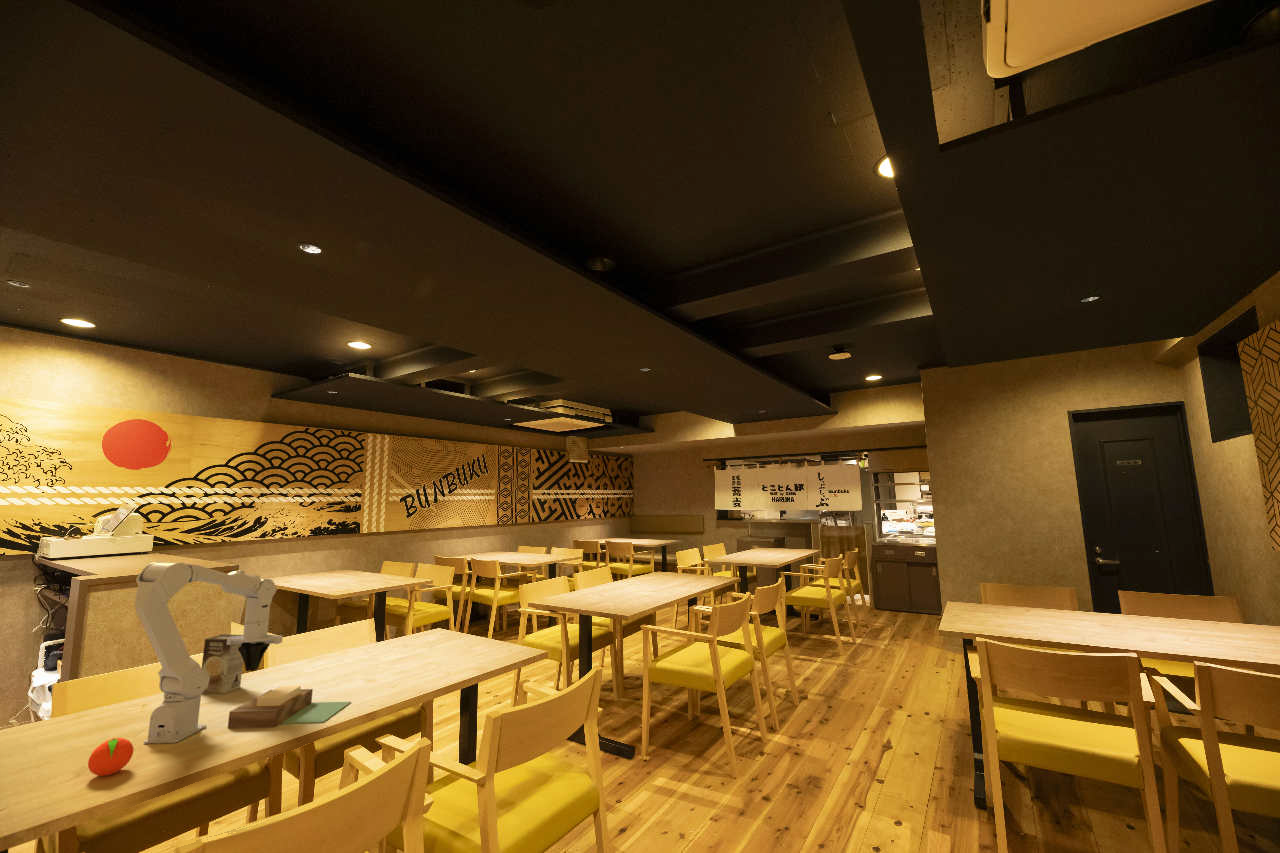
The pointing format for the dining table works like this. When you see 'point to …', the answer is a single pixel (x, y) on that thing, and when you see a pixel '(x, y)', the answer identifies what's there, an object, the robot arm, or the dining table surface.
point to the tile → (278, 696)
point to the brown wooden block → (268, 711)
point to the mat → (316, 712)
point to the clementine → (110, 756)
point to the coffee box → (222, 664)
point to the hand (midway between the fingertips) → (251, 670)
